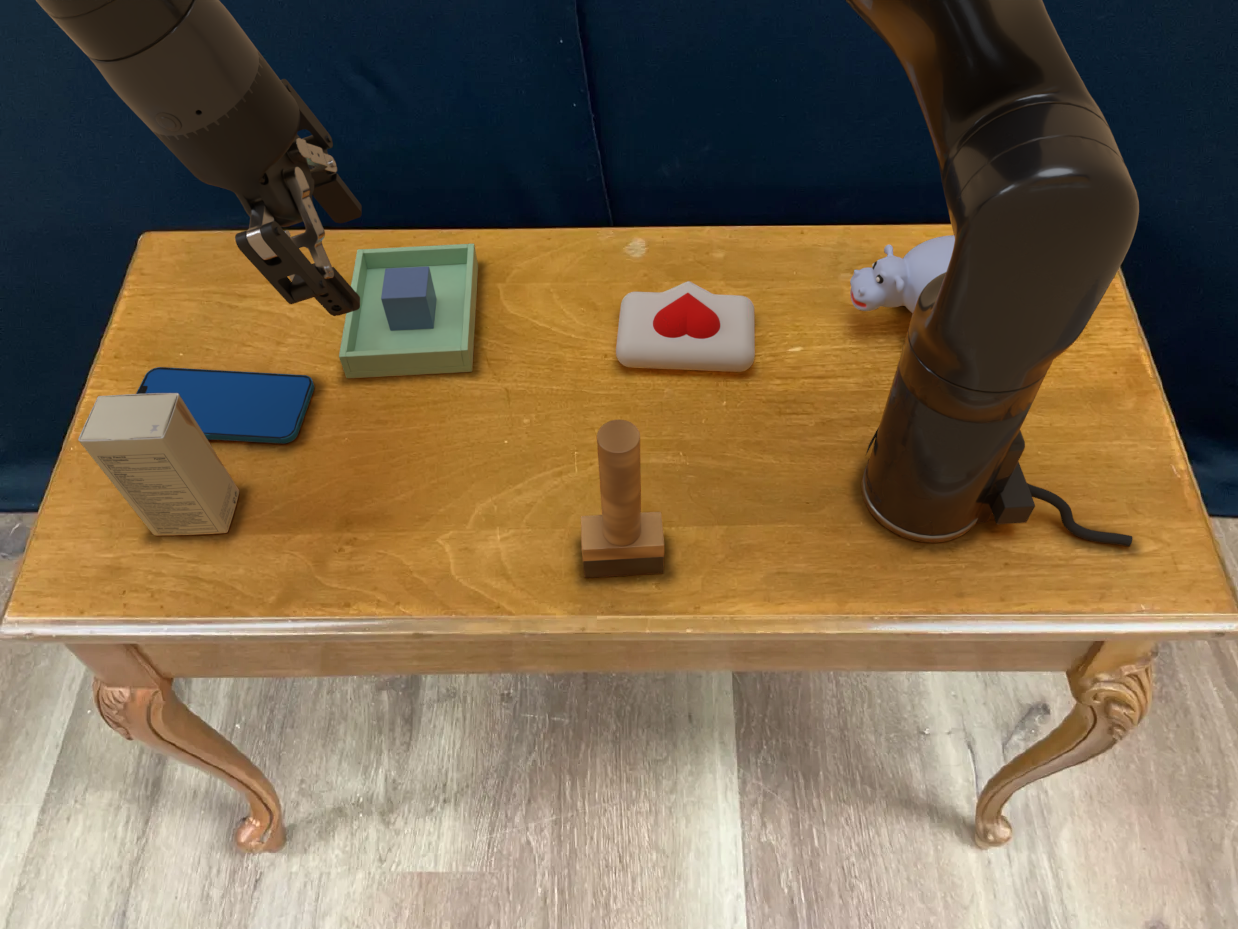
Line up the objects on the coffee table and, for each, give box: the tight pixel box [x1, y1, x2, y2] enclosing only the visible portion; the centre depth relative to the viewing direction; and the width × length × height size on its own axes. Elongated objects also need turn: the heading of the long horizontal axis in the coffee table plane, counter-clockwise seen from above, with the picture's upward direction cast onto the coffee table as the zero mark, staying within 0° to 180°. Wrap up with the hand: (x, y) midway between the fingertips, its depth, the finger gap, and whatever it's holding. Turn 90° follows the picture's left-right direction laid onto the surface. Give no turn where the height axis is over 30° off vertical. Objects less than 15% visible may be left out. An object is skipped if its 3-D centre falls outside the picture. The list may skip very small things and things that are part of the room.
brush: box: [580, 419, 665, 579], centre depth 68 cm, size 6×3×15 cm, turn 93°
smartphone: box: [135, 366, 315, 445], centre depth 84 cm, size 7×1×15 cm
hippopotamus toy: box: [849, 234, 955, 314], centre depth 85 cm, size 11×15×10 cm
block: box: [381, 266, 437, 331], centre depth 88 cm, size 4×4×4 cm
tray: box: [338, 243, 479, 379], centre depth 89 cm, size 11×14×3 cm
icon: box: [615, 280, 756, 373], centre depth 87 cm, size 12×4×10 cm
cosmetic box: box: [77, 393, 240, 536], centre depth 73 cm, size 6×4×12 cm
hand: (349, 261), depth 68 cm, fingers open, 8 cm apart
